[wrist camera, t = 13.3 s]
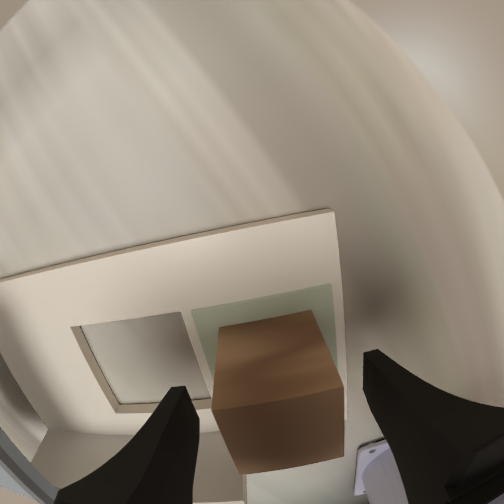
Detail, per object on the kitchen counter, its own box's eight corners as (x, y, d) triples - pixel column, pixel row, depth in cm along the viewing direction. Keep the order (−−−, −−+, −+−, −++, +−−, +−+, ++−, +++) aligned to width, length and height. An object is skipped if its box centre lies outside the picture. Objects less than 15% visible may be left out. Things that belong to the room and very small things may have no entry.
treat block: (311, 309, 13) (343, 385, 8) (318, 378, 14) (343, 456, 10) (219, 327, 13) (211, 410, 9) (238, 393, 14) (239, 474, 10)
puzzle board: (328, 208, 13) (387, 247, 8) (343, 409, 17) (370, 483, 11) (-21, 284, 13) (-80, 327, 8) (59, 431, 17) (32, 486, 12)
